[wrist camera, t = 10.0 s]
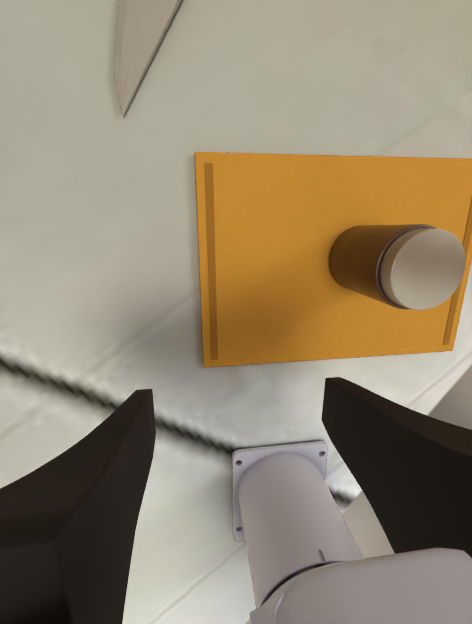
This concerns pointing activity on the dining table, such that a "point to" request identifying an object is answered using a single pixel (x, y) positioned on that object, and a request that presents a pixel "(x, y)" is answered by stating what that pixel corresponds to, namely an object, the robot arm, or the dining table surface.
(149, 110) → the dining table surface
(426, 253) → the pepper shaker
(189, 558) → the dining table surface
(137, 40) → the chef's knife
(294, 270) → the orange cutting board
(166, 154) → the dining table surface
